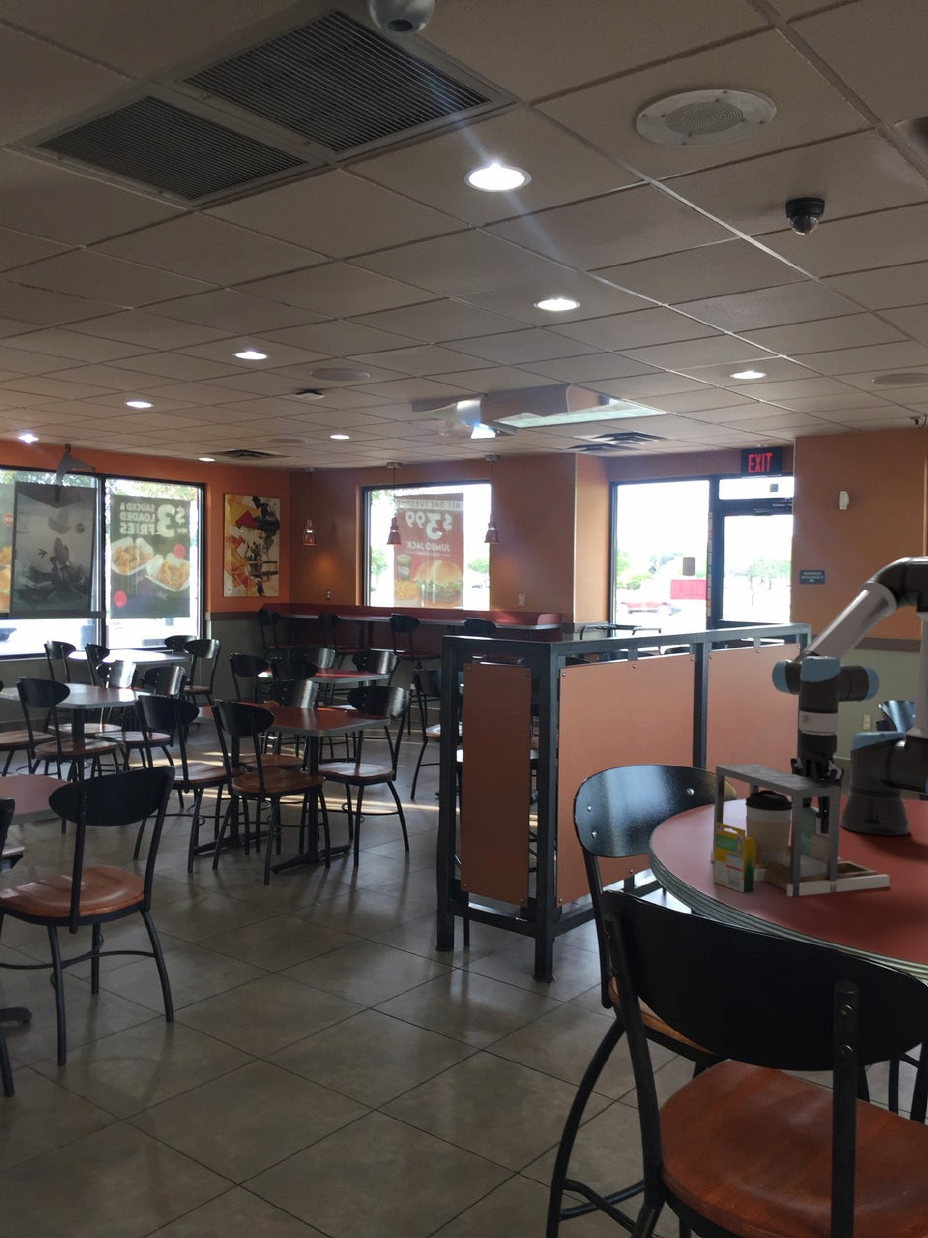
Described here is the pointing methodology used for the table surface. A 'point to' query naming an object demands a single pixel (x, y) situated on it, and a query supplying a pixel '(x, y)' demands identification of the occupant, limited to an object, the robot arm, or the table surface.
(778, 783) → the shelf
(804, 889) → the lane rails
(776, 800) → the coffee cup
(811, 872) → the grey block
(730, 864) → the crayon box
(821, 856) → the sled
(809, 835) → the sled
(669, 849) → the table surface
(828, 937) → the table surface
